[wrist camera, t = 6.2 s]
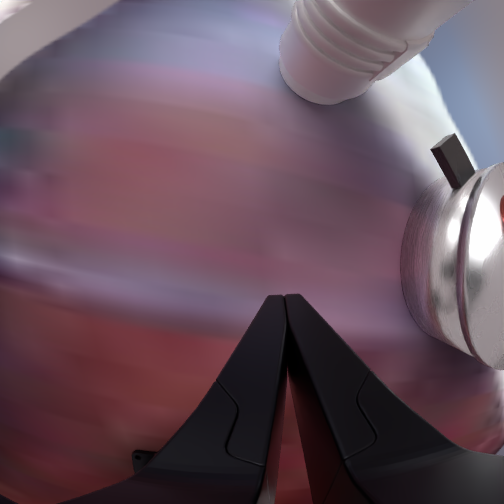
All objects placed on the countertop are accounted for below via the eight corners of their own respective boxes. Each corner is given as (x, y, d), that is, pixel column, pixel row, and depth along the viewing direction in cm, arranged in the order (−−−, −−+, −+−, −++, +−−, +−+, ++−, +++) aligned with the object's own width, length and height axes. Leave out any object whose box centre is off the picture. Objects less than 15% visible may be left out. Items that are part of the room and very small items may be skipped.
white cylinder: (304, 126, 20) (447, -9, 5) (254, 46, 19) (312, -128, 4) (379, 95, 21) (525, -1, 6) (331, 23, 20) (426, -106, 5)
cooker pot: (447, 390, 23) (480, 413, 18) (345, 202, 21) (382, 196, 16) (535, 280, 24) (568, 286, 19) (466, 107, 22) (503, 92, 17)
